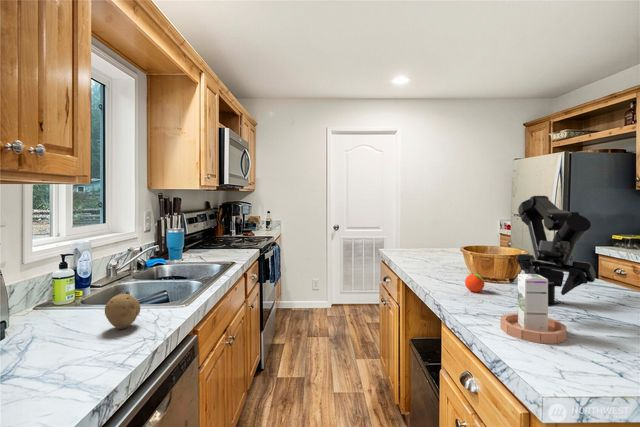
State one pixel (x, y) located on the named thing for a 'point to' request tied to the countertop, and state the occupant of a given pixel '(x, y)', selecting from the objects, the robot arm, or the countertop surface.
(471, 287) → the clementine
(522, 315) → the syrup box
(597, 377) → the countertop surface
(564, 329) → the terracotta dish
